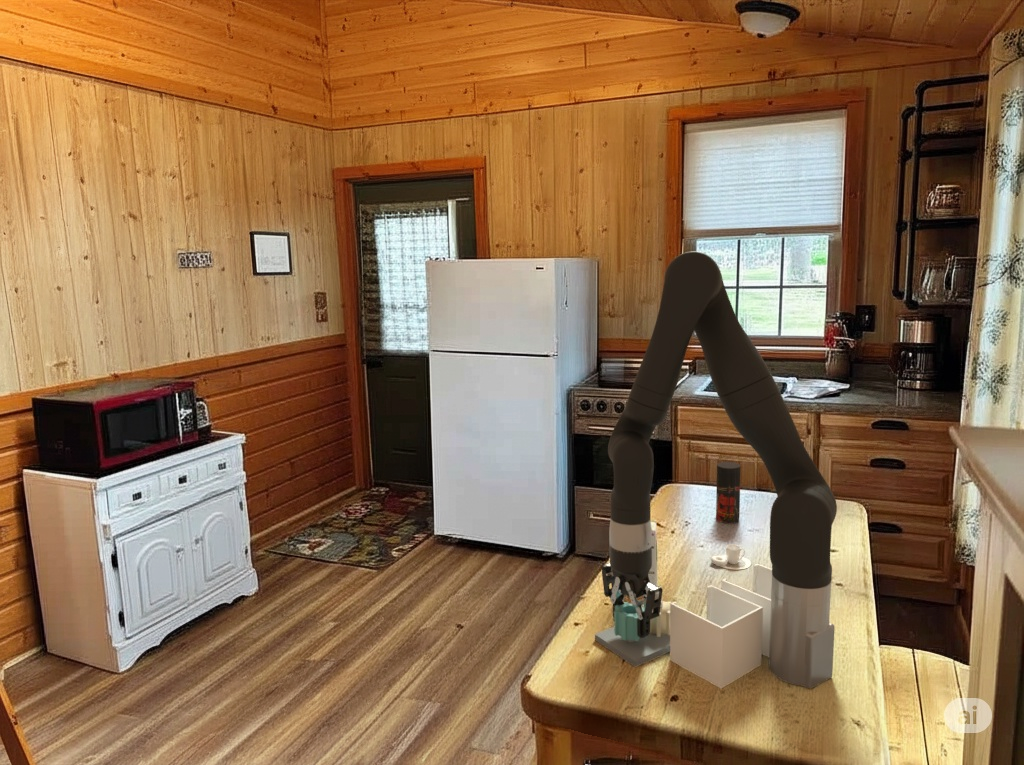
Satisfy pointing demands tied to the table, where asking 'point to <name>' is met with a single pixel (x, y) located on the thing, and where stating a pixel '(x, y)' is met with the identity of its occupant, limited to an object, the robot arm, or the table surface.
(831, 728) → the table surface
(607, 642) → the board
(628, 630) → the gear
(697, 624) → the white folded wall panels
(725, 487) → the deodorant
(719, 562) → the teacup and saucer
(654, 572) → the syrup box
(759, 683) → the table surface
